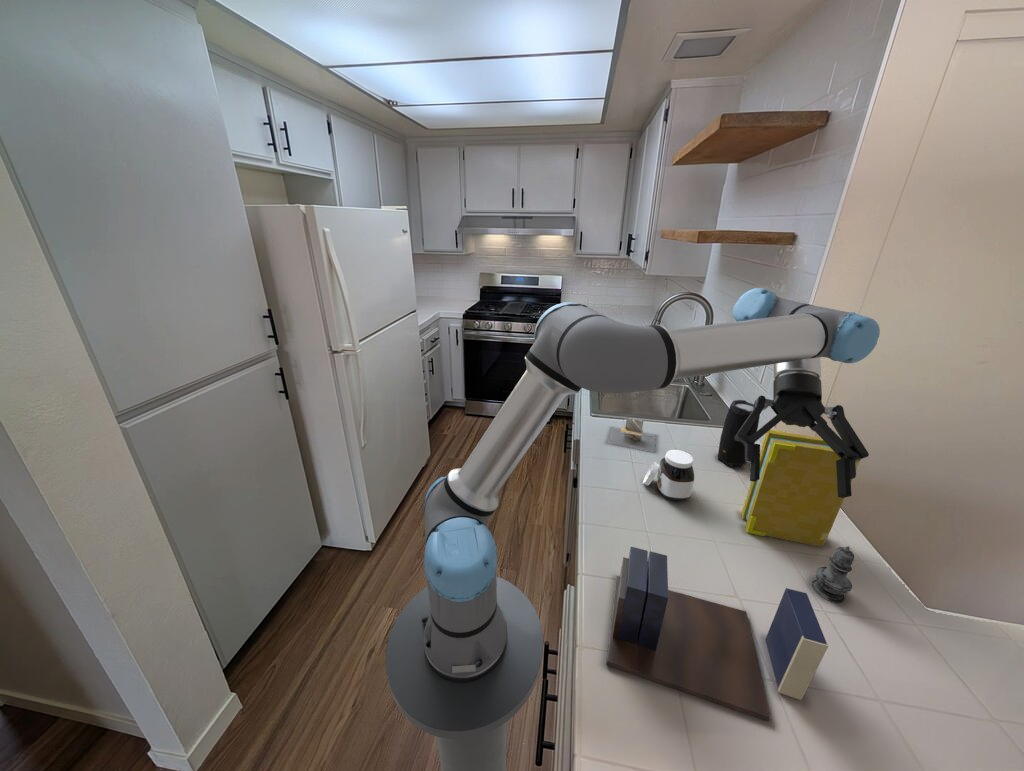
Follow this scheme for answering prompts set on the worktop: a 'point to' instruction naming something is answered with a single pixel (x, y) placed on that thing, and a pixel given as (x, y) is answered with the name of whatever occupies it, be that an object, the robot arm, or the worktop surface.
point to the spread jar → (673, 475)
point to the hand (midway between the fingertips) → (798, 488)
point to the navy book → (795, 644)
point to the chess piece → (835, 576)
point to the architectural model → (633, 436)
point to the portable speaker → (728, 446)
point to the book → (794, 489)
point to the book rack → (682, 638)
